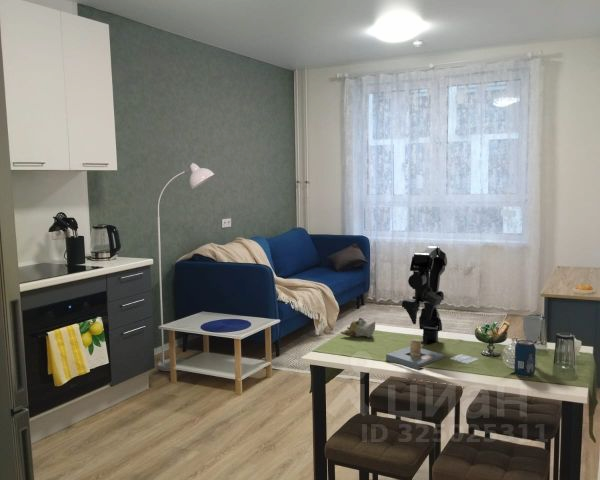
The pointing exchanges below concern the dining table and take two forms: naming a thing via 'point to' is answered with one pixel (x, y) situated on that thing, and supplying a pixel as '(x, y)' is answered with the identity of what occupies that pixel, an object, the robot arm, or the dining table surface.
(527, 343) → the soda can
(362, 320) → the ceramic sculpture
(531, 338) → the chalice
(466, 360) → the plate
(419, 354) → the peg
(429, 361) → the hole plate
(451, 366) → the dining table surface
